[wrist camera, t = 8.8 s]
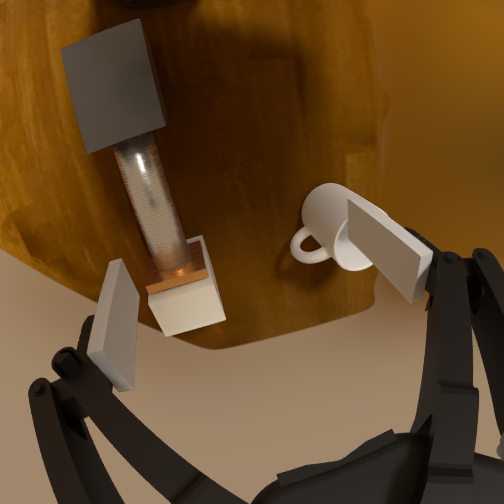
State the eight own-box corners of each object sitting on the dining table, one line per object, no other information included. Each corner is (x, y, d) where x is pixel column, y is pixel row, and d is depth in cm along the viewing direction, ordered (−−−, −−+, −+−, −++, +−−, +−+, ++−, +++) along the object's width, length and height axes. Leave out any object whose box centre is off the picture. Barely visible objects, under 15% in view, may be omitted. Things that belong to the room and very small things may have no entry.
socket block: (152, 250, 38) (148, 303, 29) (202, 234, 39) (213, 284, 29) (164, 280, 41) (165, 337, 31) (212, 265, 42) (226, 319, 32)
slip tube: (102, 125, 26) (84, 131, 20) (160, 104, 26) (156, 104, 21) (160, 282, 36) (159, 315, 31) (208, 267, 37) (216, 299, 31)
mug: (290, 257, 44) (319, 299, 36) (266, 213, 40) (294, 249, 31) (356, 217, 44) (396, 248, 35) (339, 171, 39) (383, 194, 31)
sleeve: (93, 63, 25) (60, 49, 16) (150, 42, 26) (139, 18, 17) (112, 138, 30) (87, 154, 21) (169, 119, 31) (165, 126, 22)
